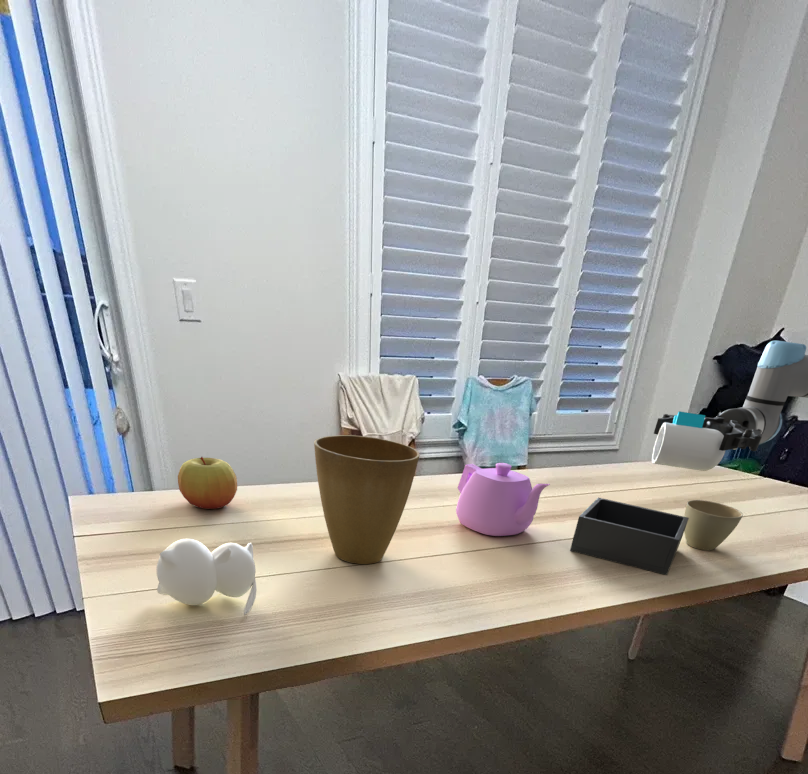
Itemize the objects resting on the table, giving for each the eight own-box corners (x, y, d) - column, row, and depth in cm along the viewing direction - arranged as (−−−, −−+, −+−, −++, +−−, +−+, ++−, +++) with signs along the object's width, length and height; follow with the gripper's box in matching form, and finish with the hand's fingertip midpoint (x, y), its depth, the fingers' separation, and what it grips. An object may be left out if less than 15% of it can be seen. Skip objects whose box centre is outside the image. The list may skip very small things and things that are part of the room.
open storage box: (677, 549, 117) (689, 517, 114) (666, 575, 105) (679, 540, 102) (589, 528, 122) (598, 497, 119) (569, 550, 110) (578, 516, 107)
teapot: (510, 551, 107) (524, 484, 100) (432, 515, 119) (440, 453, 112) (559, 540, 114) (575, 477, 108) (481, 508, 126) (491, 449, 120)
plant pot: (373, 583, 90) (382, 465, 81) (291, 554, 95) (291, 441, 86) (425, 556, 101) (438, 450, 92) (349, 532, 106) (354, 429, 97)
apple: (174, 497, 112) (169, 449, 107) (229, 495, 116) (227, 449, 111) (187, 515, 105) (182, 465, 100) (245, 512, 109) (243, 463, 105)
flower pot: (669, 546, 119) (683, 507, 115) (677, 533, 126) (690, 496, 122) (725, 559, 115) (741, 520, 111) (729, 545, 123) (744, 508, 119)
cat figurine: (253, 520, 78) (151, 523, 72) (277, 592, 75) (172, 601, 69) (242, 563, 85) (148, 569, 80) (263, 631, 82) (167, 641, 77)
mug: (739, 415, 113) (671, 406, 115) (725, 468, 115) (658, 458, 116) (716, 433, 125) (654, 424, 126) (704, 481, 127) (643, 472, 128)
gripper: (789, 462, 125) (746, 472, 112) (675, 434, 139) (625, 440, 126) (807, 421, 121) (764, 426, 108) (687, 396, 135) (637, 399, 122)
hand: (689, 434), depth 117 cm, fingers closed on mug, 12 cm apart
